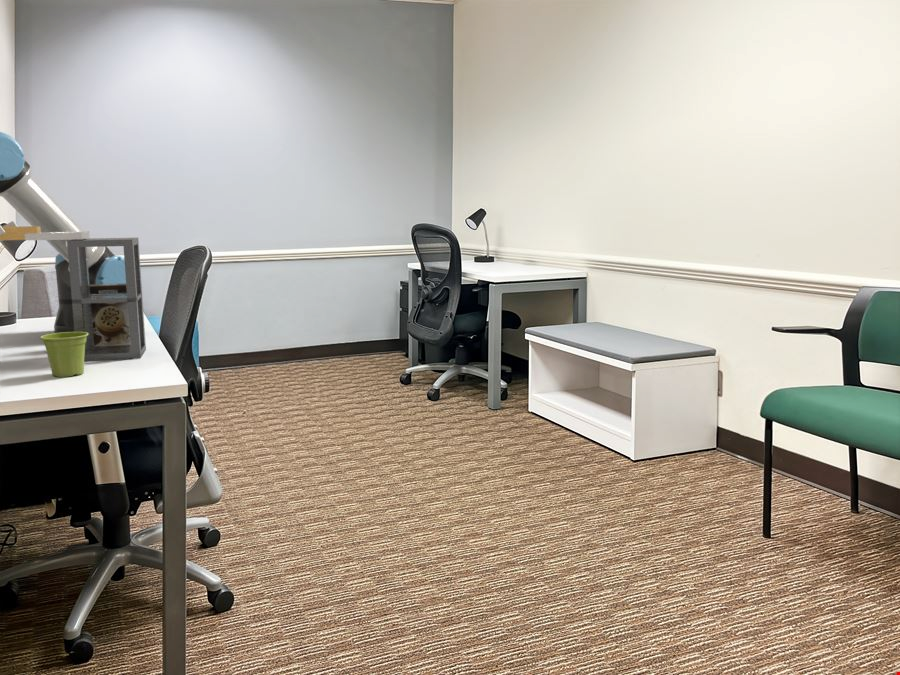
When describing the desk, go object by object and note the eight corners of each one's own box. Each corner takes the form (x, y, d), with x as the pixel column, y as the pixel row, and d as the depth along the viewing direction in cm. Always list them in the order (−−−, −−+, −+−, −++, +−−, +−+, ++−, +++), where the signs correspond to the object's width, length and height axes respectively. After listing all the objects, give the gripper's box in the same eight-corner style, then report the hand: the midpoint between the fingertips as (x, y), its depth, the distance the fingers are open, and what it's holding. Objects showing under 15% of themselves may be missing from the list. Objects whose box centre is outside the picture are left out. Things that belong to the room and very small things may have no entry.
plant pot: (38, 380, 174) (34, 339, 172) (50, 371, 183) (47, 332, 182) (86, 377, 176) (82, 337, 174) (95, 369, 185) (92, 330, 183)
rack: (84, 352, 206) (75, 238, 201) (146, 349, 209) (138, 237, 205) (75, 361, 194) (65, 240, 190) (140, 358, 198) (132, 239, 193)
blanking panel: (-21, 239, 195) (-22, 226, 195) (89, 237, 201) (88, 225, 201) (-34, 241, 186) (-35, 227, 185) (82, 239, 192) (81, 226, 191)
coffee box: (93, 349, 210) (88, 286, 208) (93, 346, 216) (88, 283, 213) (131, 347, 213) (127, 284, 211) (131, 343, 219) (126, 282, 217)
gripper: (-47, 283, 202) (32, 238, 205) (-85, 294, 178) (4, 242, 181) (-67, 257, 200) (13, 211, 203) (-108, 264, 176) (-18, 212, 179)
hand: (9, 226), depth 192 cm, fingers open, 13 cm apart
